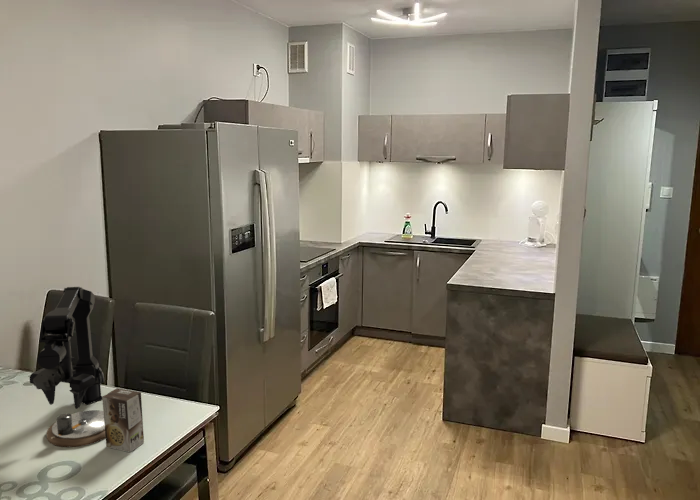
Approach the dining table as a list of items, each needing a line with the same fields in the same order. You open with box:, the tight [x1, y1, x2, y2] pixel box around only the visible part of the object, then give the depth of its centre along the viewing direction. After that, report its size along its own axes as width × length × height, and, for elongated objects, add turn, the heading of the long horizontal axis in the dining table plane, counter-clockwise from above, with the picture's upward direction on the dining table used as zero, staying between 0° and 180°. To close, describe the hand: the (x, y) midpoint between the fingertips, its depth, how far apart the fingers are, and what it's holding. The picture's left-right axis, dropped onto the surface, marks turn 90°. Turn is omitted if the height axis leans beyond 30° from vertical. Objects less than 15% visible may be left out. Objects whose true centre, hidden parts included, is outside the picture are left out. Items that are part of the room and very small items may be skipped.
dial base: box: [46, 423, 106, 448], centre depth 175 cm, size 20×20×2 cm
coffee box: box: [101, 387, 145, 453], centre depth 165 cm, size 9×6×16 cm
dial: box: [52, 409, 105, 440], centre depth 174 cm, size 17×17×6 cm
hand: (64, 406), depth 167 cm, fingers open, 9 cm apart
